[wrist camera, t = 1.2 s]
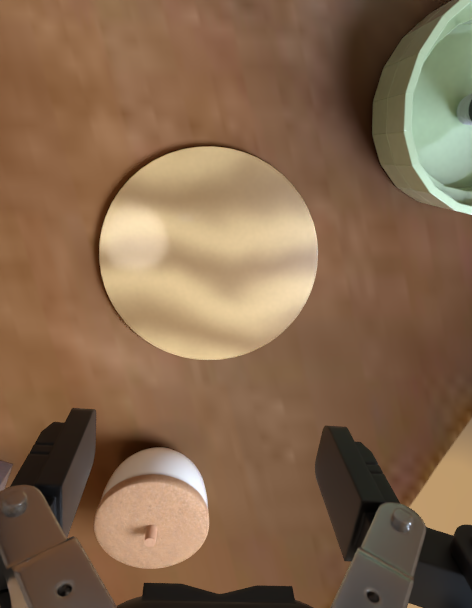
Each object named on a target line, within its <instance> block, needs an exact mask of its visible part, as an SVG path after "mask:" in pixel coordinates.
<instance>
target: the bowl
mask: <svg viewBox="0 0 472 608" xmlns="http://www.w3.org/2000/svg"><path fill="white" fill-rule="evenodd" d="M471 93H472V0H451V1H450V2H448V3H446V4H445V5H443V6H441V7H440V8H438V9H436V10H435V11H433V12H431V13H430V14H428V15H427V16H426V17H425V18H424V19H423V20H422V21H421V22H420V23H418V24H417V25H416V26H415V27H414V28H413V29H412V30H411V31H409V32H408V33H407V34H406V35H405V36H404V37H403V38H402V39H401V41H400V43H399V44H398V46H397V47H396V49H395V51H394V52H393V54H392V55H391V57H390V58H389V60H388V62H387V63H386V65H385V66H384V69H383V71H382V74H381V77H380V80H379V84H378V87H377V90H376V93H375V97H374V100H373V118H372V136H373V140H374V143H375V147H376V151H377V154H378V158H379V161H380V163H381V166H382V167H383V169H384V170H385V171H386V173H387V174H388V176H389V177H390V179H391V180H392V182H393V183H394V185H395V186H396V187H397V188H399V189H400V190H401V191H403V192H404V193H406V194H407V195H409V196H410V197H412V198H413V199H414V200H416V201H418V202H421V203H425V204H429V205H433V206H437V207H441V208H445V209H449V210H454V211H458V212H462V213H466V214H470V215H472V126H471V125H464V124H462V123H461V122H460V121H459V120H458V117H457V107H458V105H459V103H460V101H461V100H462V99H463V98H464V97H466V96H467V95H469V94H471Z"/></svg>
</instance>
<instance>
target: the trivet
mask: <svg viewBox="0 0 472 608" xmlns="http://www.w3.org/2000/svg"><path fill="white" fill-rule="evenodd" d="M317 262H318V246H317V236H316V232H315V227H314V223H313V220H312V218H311V215H310V212H309V210H308V208H307V206H306V204H305V202H304V200H303V199H302V197H301V196H300V194H299V193H298V191H297V190H296V189H295V187H294V186H293V185H292V184H291V183H290V182H289V181H288V180H287V179H286V177H285V176H284V175H282V174H281V173H280V172H279V171H277V170H276V169H275V168H274V167H272V166H271V165H269V164H268V163H266V162H264V161H263V160H261V159H259V158H257V157H255V156H252V155H250V154H248V153H245V152H242V151H238V150H235V149H231V148H224V147H216V146H198V147H192V148H186V149H181V150H178V151H174V152H171V153H168V154H166V155H164V156H161V157H159V158H157V159H155V160H153V161H152V162H150V163H149V164H147V165H146V166H144V167H142V168H141V169H140V170H139V171H138V172H136V173H135V174H134V175H133V176H132V177H131V178H130V179H129V180H128V181H127V182H126V183H125V184H124V186H123V187H122V188H121V189H120V190H119V192H118V193H117V195H116V196H115V198H114V200H113V201H112V203H111V205H110V207H109V209H108V212H107V214H106V216H105V219H104V223H103V226H102V229H101V235H100V242H99V263H100V271H101V276H102V279H103V283H104V287H105V289H106V291H107V294H108V296H109V299H110V301H111V302H112V304H113V306H114V307H115V309H116V311H117V312H118V314H119V315H120V316H121V318H122V319H123V320H124V321H125V323H126V324H127V325H128V326H129V327H130V328H131V329H132V330H133V331H134V332H135V333H137V334H138V335H139V336H140V337H142V338H143V339H144V340H146V341H147V342H149V343H151V344H152V345H154V346H156V347H157V348H160V349H162V350H164V351H166V352H168V353H171V354H175V355H178V356H181V357H186V358H191V359H200V360H219V359H226V358H232V357H236V356H240V355H243V354H247V353H249V352H251V351H254V350H256V349H258V348H260V347H262V346H264V345H265V344H267V343H269V342H270V341H272V340H273V339H274V338H276V337H277V336H278V335H280V334H281V333H282V332H283V331H284V330H285V329H286V328H287V327H288V326H289V325H290V324H291V323H292V322H293V320H294V319H295V318H296V317H297V316H298V314H299V313H300V311H301V309H302V308H303V306H304V305H305V303H306V301H307V299H308V297H309V294H310V292H311V289H312V286H313V283H314V280H315V275H316V270H317Z"/></svg>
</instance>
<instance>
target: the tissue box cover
mask: <svg viewBox="0 0 472 608" xmlns="http://www.w3.org/2000/svg"><path fill="white" fill-rule="evenodd" d="M12 466H13V464H11V463H7V462H4V461H1V460H0V491H2V490H4V488H5V486H6V483H7V480H8V477H9V474H10V472H11V469H12Z"/></svg>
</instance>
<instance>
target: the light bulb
mask: <svg viewBox="0 0 472 608" xmlns="http://www.w3.org/2000/svg"><path fill="white" fill-rule="evenodd" d="M457 117H458V120H459V121H460V122H461V123H462V124H464V125H471V126H472V93H471V94H469V95H467V96H466V97H464V98H463V99H462V100H461V101H460V103H459V105H458V107H457Z"/></svg>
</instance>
